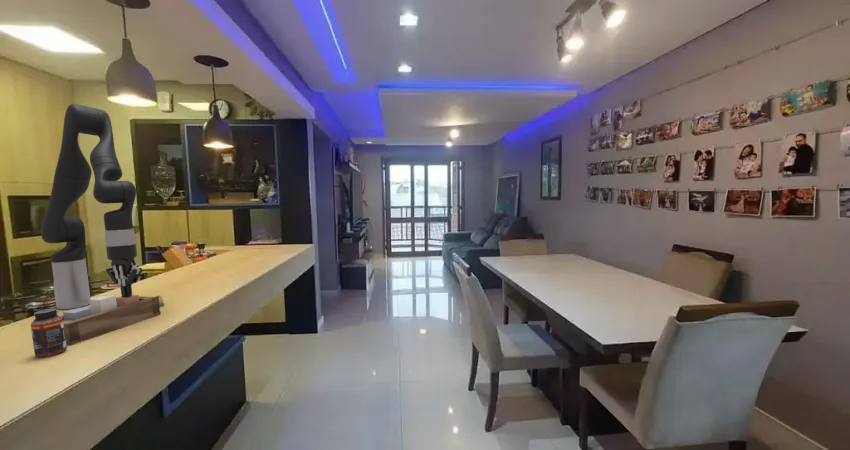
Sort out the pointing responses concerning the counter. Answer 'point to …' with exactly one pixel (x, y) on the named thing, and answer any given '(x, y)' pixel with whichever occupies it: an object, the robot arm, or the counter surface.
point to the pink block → (126, 300)
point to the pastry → (160, 301)
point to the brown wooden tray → (110, 320)
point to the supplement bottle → (48, 333)
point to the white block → (102, 304)
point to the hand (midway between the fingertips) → (127, 296)
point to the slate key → (77, 313)
